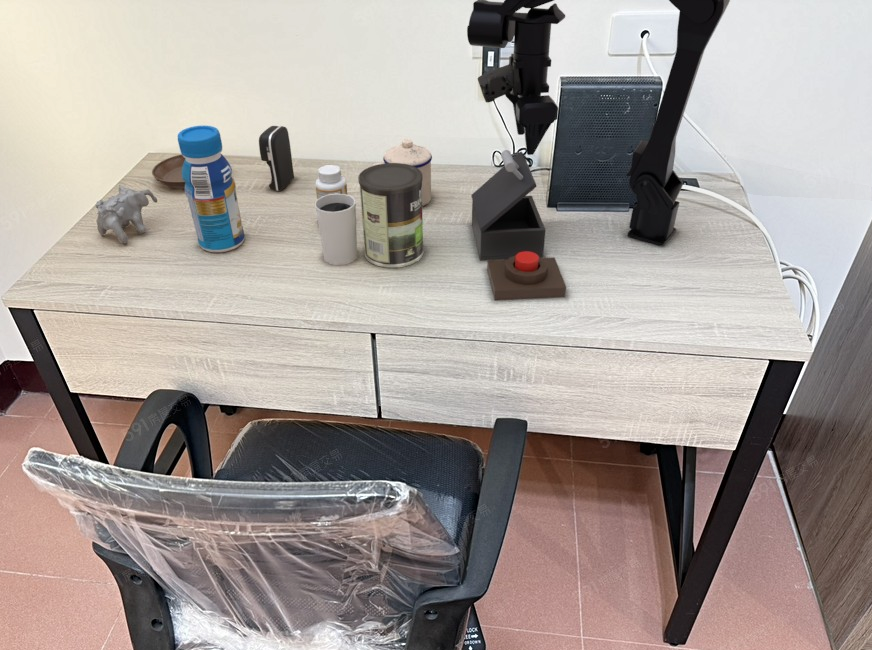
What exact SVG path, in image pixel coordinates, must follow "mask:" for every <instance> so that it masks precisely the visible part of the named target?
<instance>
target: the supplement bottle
mask: <svg viewBox="0 0 872 650" xmlns="http://www.w3.org/2000/svg"><path fill="white" fill-rule="evenodd" d="M317 173H318V174H317V176H318V178H317V179H316V180H315V192H316V200H317V199H319V198H321V197H322V196H326V195H329V194H346V195H349V194H348V186H347V180H346V178H345V177H344V176H343V175H342V171H341V167H340V166H338V165H336V164H325V165H322V166H321V167H319V168H318V170H317Z"/></svg>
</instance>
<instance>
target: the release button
mask: <svg viewBox="0 0 872 650" xmlns="http://www.w3.org/2000/svg"><path fill="white" fill-rule="evenodd" d="M538 262H539V256H538V255H537V254H536V253H533V252H529V251H524V252H520V253H518V254H517V255H516V258H515V268H516V269H517V270H519V271H524V272H533V271H535V270H537V268H538Z"/></svg>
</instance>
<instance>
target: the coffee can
mask: <svg viewBox="0 0 872 650" xmlns="http://www.w3.org/2000/svg"><path fill="white" fill-rule="evenodd" d="M384 163H385V162H384ZM422 179H423V175H422V172H421V171H420V170H419V169H418V168H416V167H414V166H411V165H407V164H401V163H385V164H379V165H374V166H372V165H371V166H368V167H367V168H365V169H363V170H362V171H361V172H360V173H359V174H358V177H357V180H358V184H359V195H360V207H361V219H362V229H363V245H364V257H365V259H366V260H367V261H368V262H369V263H370V264H372V265H375V266H377V267H381V268H387V269H396V268H397V269H398V268H404V267H408V266H410V265H411V266H412V265H413V264H415V263H417V262H419V261H420V260H421V259H422V257H423V256H424V226H423V225H424V223H423V222H424V221H423V219H424V218H423V217H424V216H423V206H422Z"/></svg>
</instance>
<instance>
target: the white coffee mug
mask: <svg viewBox="0 0 872 650" xmlns="http://www.w3.org/2000/svg"><path fill="white" fill-rule="evenodd" d="M314 207H315V213H316V219H317V224H318V225H317V226H318V230H319V237H320V243H321V248H322V254H323V261H324V262H326V263H327V264H330V265H334V266H344V265H348V264H351V263H353V262H354V261H355V260H356V259H357V257H358V240H357V239H358V238H357V237H358V236H357V209H356V200H355V198H354V197H353V196H351V195H349V194H348V195H346V194H329V195H326V196H322V197H321V198H319V199H317V198H316V201H315V202H314Z"/></svg>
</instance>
